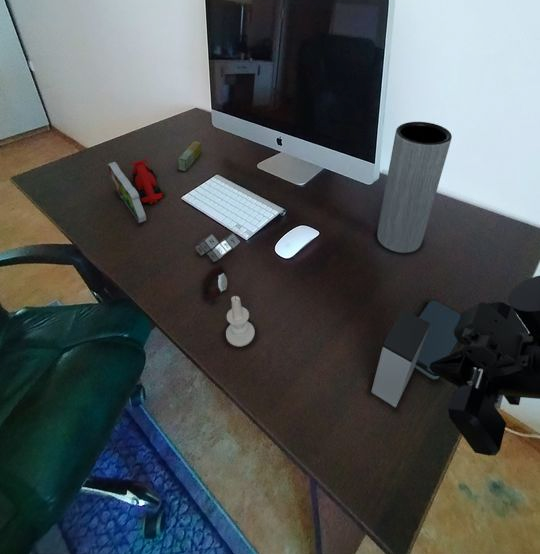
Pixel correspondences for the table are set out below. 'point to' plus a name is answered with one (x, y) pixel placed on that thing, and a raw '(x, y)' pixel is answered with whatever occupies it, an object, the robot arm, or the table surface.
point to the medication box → (189, 156)
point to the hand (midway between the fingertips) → (431, 367)
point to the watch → (221, 282)
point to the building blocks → (216, 246)
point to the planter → (412, 184)
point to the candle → (239, 324)
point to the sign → (127, 192)
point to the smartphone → (437, 336)
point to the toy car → (145, 182)
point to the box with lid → (399, 357)
